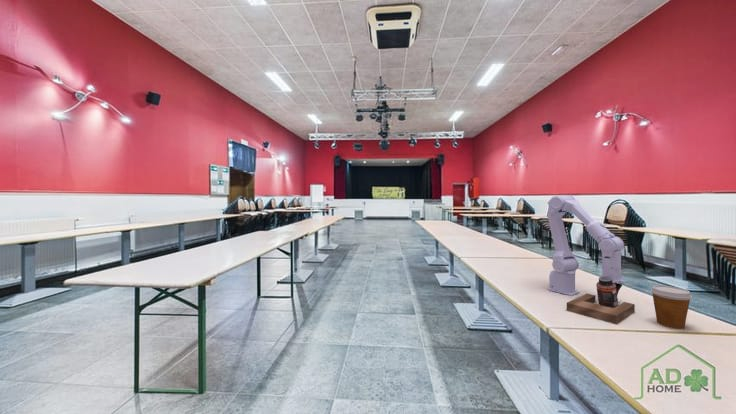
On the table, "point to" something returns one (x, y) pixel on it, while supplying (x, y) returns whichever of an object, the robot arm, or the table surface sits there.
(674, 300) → the disposable coffee cup
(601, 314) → the brown u-shaped wooden block
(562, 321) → the table surface
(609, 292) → the supplement bottle
